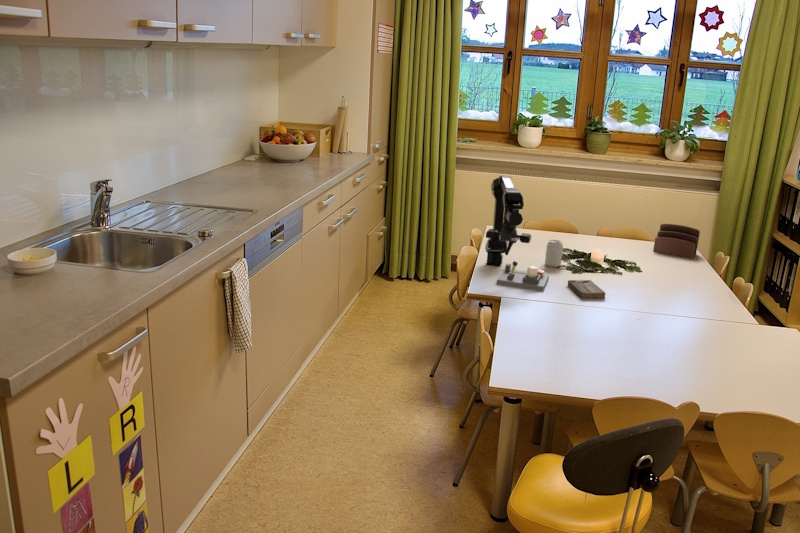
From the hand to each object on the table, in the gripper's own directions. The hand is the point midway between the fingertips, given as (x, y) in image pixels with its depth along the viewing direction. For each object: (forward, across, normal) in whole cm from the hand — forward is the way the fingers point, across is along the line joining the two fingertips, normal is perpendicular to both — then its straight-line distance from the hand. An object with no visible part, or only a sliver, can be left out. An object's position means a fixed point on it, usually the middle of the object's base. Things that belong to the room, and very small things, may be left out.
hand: (506, 255), depth 324 cm
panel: (+12, +8, +4) cm, 15 cm away
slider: (+10, 0, +9) cm, 14 cm away
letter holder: (+12, +72, +90) cm, 115 cm away
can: (+12, +16, +35) cm, 41 cm away
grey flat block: (+13, +35, +3) cm, 37 cm away
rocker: (+9, +12, +9) cm, 18 cm away
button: (+8, +12, 0) cm, 14 cm away
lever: (+10, +3, 0) cm, 10 cm away
